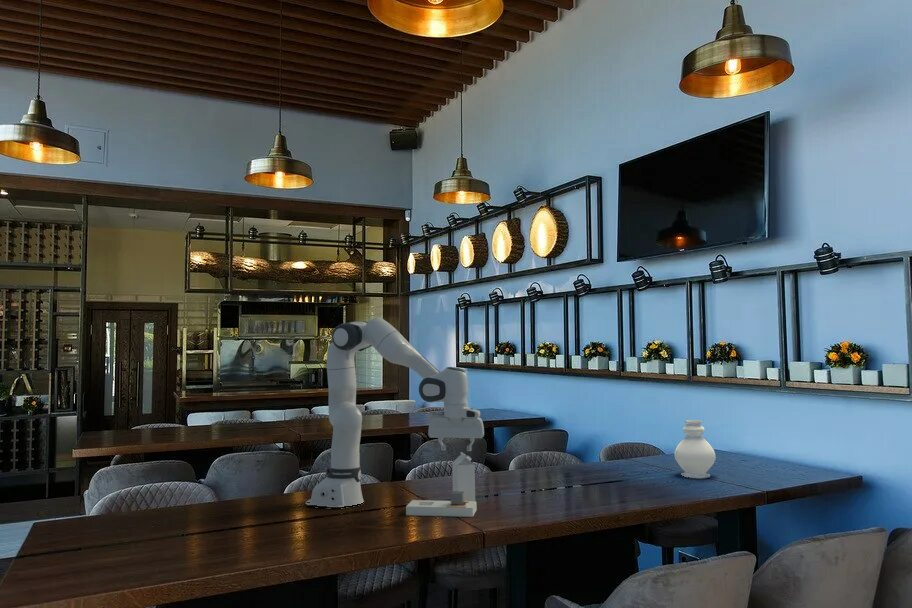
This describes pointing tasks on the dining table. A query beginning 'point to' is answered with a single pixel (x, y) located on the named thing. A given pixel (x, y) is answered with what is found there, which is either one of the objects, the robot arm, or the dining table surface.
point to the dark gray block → (457, 498)
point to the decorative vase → (694, 451)
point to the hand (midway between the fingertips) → (456, 450)
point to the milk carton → (464, 476)
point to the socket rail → (441, 508)
